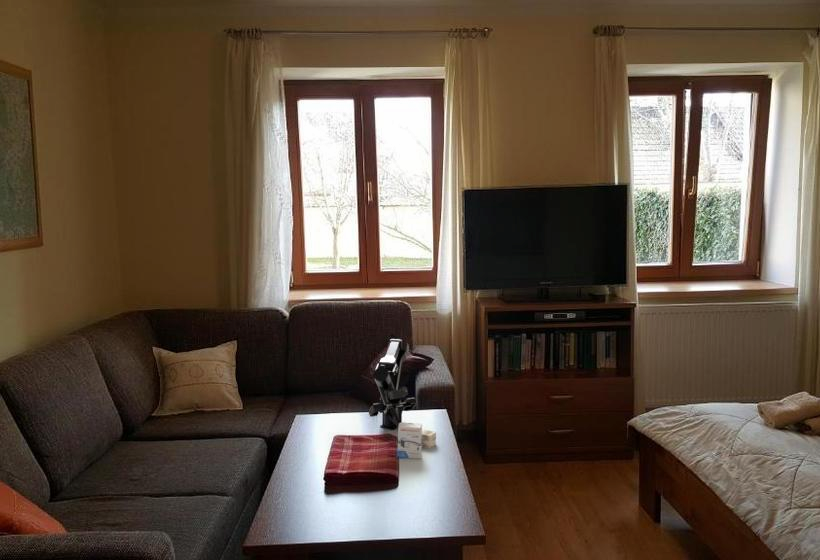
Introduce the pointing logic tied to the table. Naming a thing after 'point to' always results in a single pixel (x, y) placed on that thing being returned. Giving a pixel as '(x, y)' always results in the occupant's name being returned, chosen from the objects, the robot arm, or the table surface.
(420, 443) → the ink box
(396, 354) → the robot arm
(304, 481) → the table surface
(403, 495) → the table surface
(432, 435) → the birch block
